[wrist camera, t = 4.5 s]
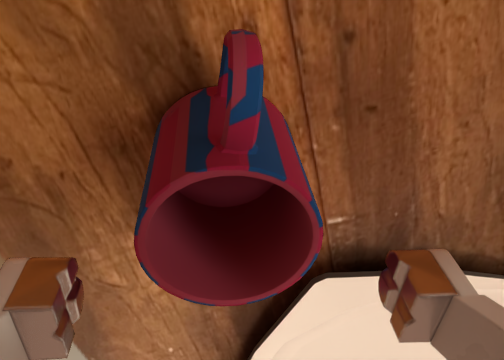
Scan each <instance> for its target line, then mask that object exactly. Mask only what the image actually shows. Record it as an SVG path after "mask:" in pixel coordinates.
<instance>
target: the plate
mask: <svg viewBox="0 0 504 360" xmlns="http://www.w3.org/2000/svg"><path fill="white" fill-rule="evenodd" d="M381 272H382V271H366V272H335V273H324V274H322V275H319V276H317V277H315V278H312V279H311V281H310V282H309V283H308V284H307V285H306V287H305V288H304V289H303V290H302V291H301V293H300V294H299V295H298V296H297V297H296V299H295V300H294V301H293V302H292V303H291V305H290V306H289V307H288V308H287V309H286V310H285V312H284V313H283V314H282V315H281V316H280V318H279V319H278V320H277V321H276V322H275V324H274V325H273V326H272V327H271V328H270V330H269V331H268V332H267V333H266V334H265V336H264V337H263V338H262V339H261V340H260V341H259V343H258V344H257V345H256V346H255V347H254V349H253V351H252V353H251V354H250V356H249V358H248V360H447V359H446V358H445V357H444V356H443V355H442V354H440V353H439V352H438V351H437V350H436V349H435V348H434V347H433V346H432V345H431V344H430V343H431V342H411V343H399V341H398V339H397V337H396V334H395V332H394V330H393V328H392V325H391V323H390V318H391V316H392V313H391V312H389V311H388V310H387V309H386V308H384V307H383V304H382V302H381V300H380V296H379V292H378V281H379V277H380V274H381ZM463 273H464V274H465V276H466V277H467V279H468V280H469V281H470V283H471V284H472V286H473V287H474V289H475V290H476V291H477V293H478V294H479V295H485V296H487V297H489V298H490V299H492V300H493V301H495V302H496V303H498V304H500V305H501V306H503V307H504V275H496V274H487V273H479V272H470V271H463Z"/></svg>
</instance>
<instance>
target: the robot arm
mask: <svg viewBox="0 0 504 360" xmlns="http://www.w3.org/2000/svg"><path fill="white" fill-rule="evenodd" d="M385 263H386V265H387V268H386V269H385V270H383V271H382V272H381V274H380V277H379V281H378V292H379V296H380V300H381V302H382V304H383V307H384V308H386V309H387V310H388V311H389V312H391V313H392V316H391V318H390V323H391V325H392V328H393V330H394V332H395V334H396V337H397V339H398V341H399V343H411V342H431V343H430V344H431V345H432V346H433V347H434V348H435V349H436V350H437V351H438V352H439V353H440V354H442V355H443V356H444V357H445V358H446V359H447V360H504V307H503V306H501V305H500V304H498V303H496V302H495V301H493V300H492V299H490V298H489V297H487V296H485V295H479V294H478V293H477V291H476V290H475V289H474V287H473V286H472V284H471V283H470V281H469V280H468V279H467V277H466V276H465V274H464V273H463V271H462V270H461V269H460V267H459V266H458V264H457V263H456V261H455V260H454V258H453V257H452V256H451V254H450V253H449V252H448V251H447V250H446V249H426V250H424V249H420V250H390V251H389V253H388V254H387V256H386V259H385ZM77 271H78V265H77V261H76V259H75V258H73V257H31V258H9V259H8V260H6V261H5V262H4V264H3V265H2V267H1V269H0V360H47V359H61V358H67V357H68V354H69V351H70V348H71V344H72V341H73V338H74V335H75V332H74V329H73V325H72V324H74V323H75V322H76V321H77V320H78V319H79V318H80V315H81V312H82V308H83V300H84V291H83V284H82V281H81V280H80V279H79V278H77V277H76V274H77Z"/></svg>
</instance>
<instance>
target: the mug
mask: <svg viewBox="0 0 504 360" xmlns="http://www.w3.org/2000/svg"><path fill="white" fill-rule="evenodd" d="M262 94H263V56H262V49H261V44H260V42H259V40H258V38H257V36H256V34H255V33H254V32H250V31H247V30H243V29H237V30H229V32H228V33H227V34H226V36H225V37H224V43H223V51H222V59H221V68H220V75H219V81H218V86H214V87H208V88H203V89H200V90H197V91H195V92H192V93H190V94H188V95H186V96H184V97H183V98H181V99H179V100H178V101H177V102H176V103H175V104H174V105H172V106H171V107H170V108H169V110H168V111H167V112H166V113H165V114H164V116H163V117H162V119H161V121H160V123H159V125H158V127H157V130H156V134H155V137H154V142H153V147H152V151H151V156H150V161H149V165H148V170H147V175H146V179H145V184H144V189H143V193H142V198H141V203H140V208H139V212H138V217H137V222H136V226H135V233H134V246H135V252H136V256H137V258H138V261H139V263H140V265H141V267H142V268H143V270H144V271H145V273H146V274H147V275H148V277H149V278H150V279H151V280H152V281H154V282H155V283H156V284H157V285H158V286H159V287H161V288H162V289H164V290H165V291H167V292H168V293H170V294H172V295H174V296H176V297H179V298H181V299H184V300H187V301H190V302H193V303H198V304H203V305H209V306H238V305H244V304H249V303H254V302H257V301H261V300H264V299H267V298H269V297H272V296H274V295H276V294H279V293H280V292H282V291H284V290H285V289H287V288H289V287H291V286H292V285H293V284H294V283H296V282H297V281H298V280H299V279H301V278H302V277H303V276H304V274H305V273H306V272H307V271H308V270H309V269H310V268H311V266H312V265H313V263H314V261H315V260H316V258H317V256H318V254H319V251H320V249H321V245H322V239H323V222H322V219H321V216H320V213H319V210H318V207H317V204H316V201H315V199H314V196H313V193H312V190H311V188H310V185H309V182H308V180H307V177H306V174H305V171H304V169H303V166H302V163H301V160H300V158H299V155H298V152H297V149H296V147H295V144H294V141H293V138H292V136H291V133H290V130H289V127H288V125H287V123H286V121H285V119H284V117H283V115H282V114H281V113H280V111H279V110H278V109H277V108H276V107H275V106H274V105H273V104H272V103H271V102H270V101H268V100H267V99H266V98H264V97H263V96H262Z"/></svg>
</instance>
